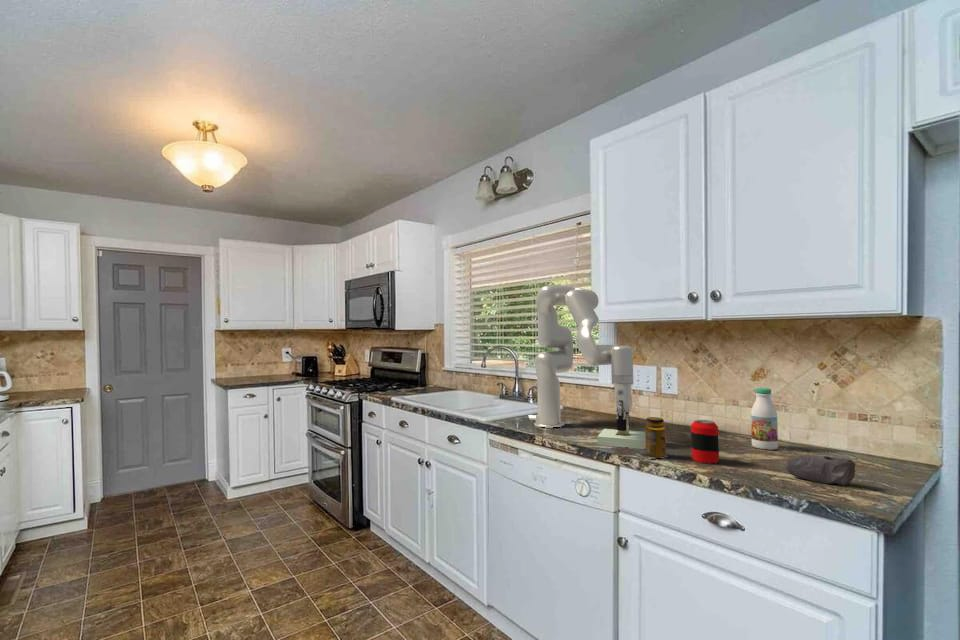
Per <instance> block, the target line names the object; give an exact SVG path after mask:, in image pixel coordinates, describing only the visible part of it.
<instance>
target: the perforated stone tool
mask: <svg viewBox="0 0 960 640" xmlns="http://www.w3.org/2000/svg"><path fill="white" fill-rule="evenodd" d="M785 469H786V471H787V472H788V473H789V474H790V475H791V476H793V477H796V478H798V479H801V480H808V481H810V480H811V482H814V483H819V482H820V483H821V484H826V485H829V484H837V485H838V486H846V485H848V484H850V483H851V482H852V481H853V479H854V478H855V474H856V462H854V461H853V460H852V459H850V458H842V457H834V456H827V455H797V456H793V457H791V458H789V459H787V460H786V462H785Z"/></svg>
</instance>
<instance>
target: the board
mask: <svg viewBox="0 0 960 640" xmlns="http://www.w3.org/2000/svg"><path fill="white" fill-rule="evenodd" d="M596 438H597V441H596V442H597V444H596V445H597V446H605V447H617V448H625V447H628V448H629V449H638V450H646V444H645V431H641V430H640V431H639V430H637V431H636V430H629V435H628V436H620V435H618V430H617V429H612V428H610V429H609V428H603V429H602V430H601V432H600V433H599V434H598V435H597V437H596Z"/></svg>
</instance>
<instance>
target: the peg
mask: <svg viewBox="0 0 960 640" xmlns="http://www.w3.org/2000/svg"><path fill="white" fill-rule="evenodd" d="M623 415H624V414H623ZM625 419H626V431H619V430H618V435H620V436H628V435H629V431H630V425H629V420H630V414H629V415H628V414H626V415H625Z"/></svg>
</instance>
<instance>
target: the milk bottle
mask: <svg viewBox="0 0 960 640" xmlns="http://www.w3.org/2000/svg"><path fill="white" fill-rule="evenodd" d="M755 396H756V398H755V401H754V403H753V405H752V407H751V411H750V412H751V413H750V424H751V427H750V428H751V430H750V431H751V432H750V433H751V445H752V446H751V447H753V448H756V449H758V450H759V449H760V450H766V449H767V450H768V451H770V450H771V451H773V450H774V449H775V450H777V449H778V448H779V431H778V430H779V429H778V428H779V427H778V425H779V424H778V413H777V409H776V407H775V405H774V403H773V401H772V399H771V398H772V397H771V396H772V389H771V388H767V387H756V388H755ZM767 450H766V451H767Z"/></svg>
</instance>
